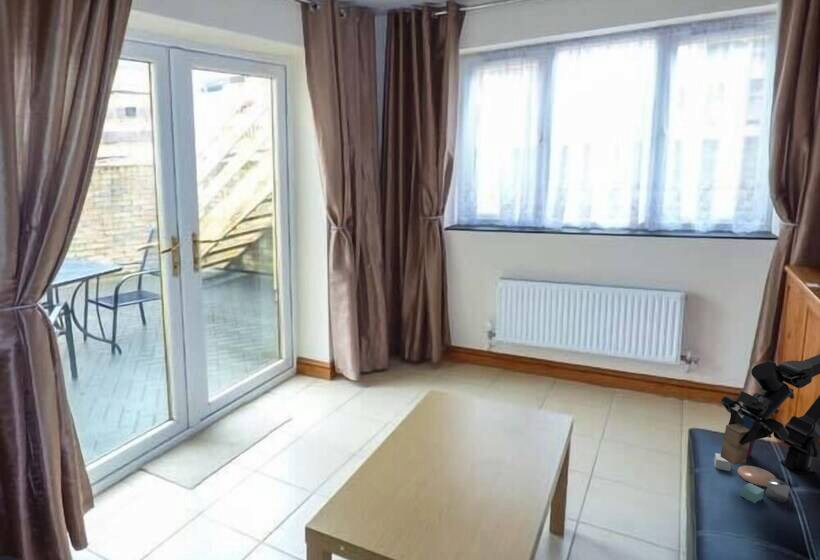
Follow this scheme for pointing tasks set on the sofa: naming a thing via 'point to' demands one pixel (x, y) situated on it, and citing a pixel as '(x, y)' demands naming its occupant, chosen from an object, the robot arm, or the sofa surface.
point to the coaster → (755, 475)
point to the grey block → (721, 462)
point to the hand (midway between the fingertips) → (733, 439)
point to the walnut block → (735, 444)
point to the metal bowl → (777, 490)
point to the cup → (748, 425)
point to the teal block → (752, 492)
